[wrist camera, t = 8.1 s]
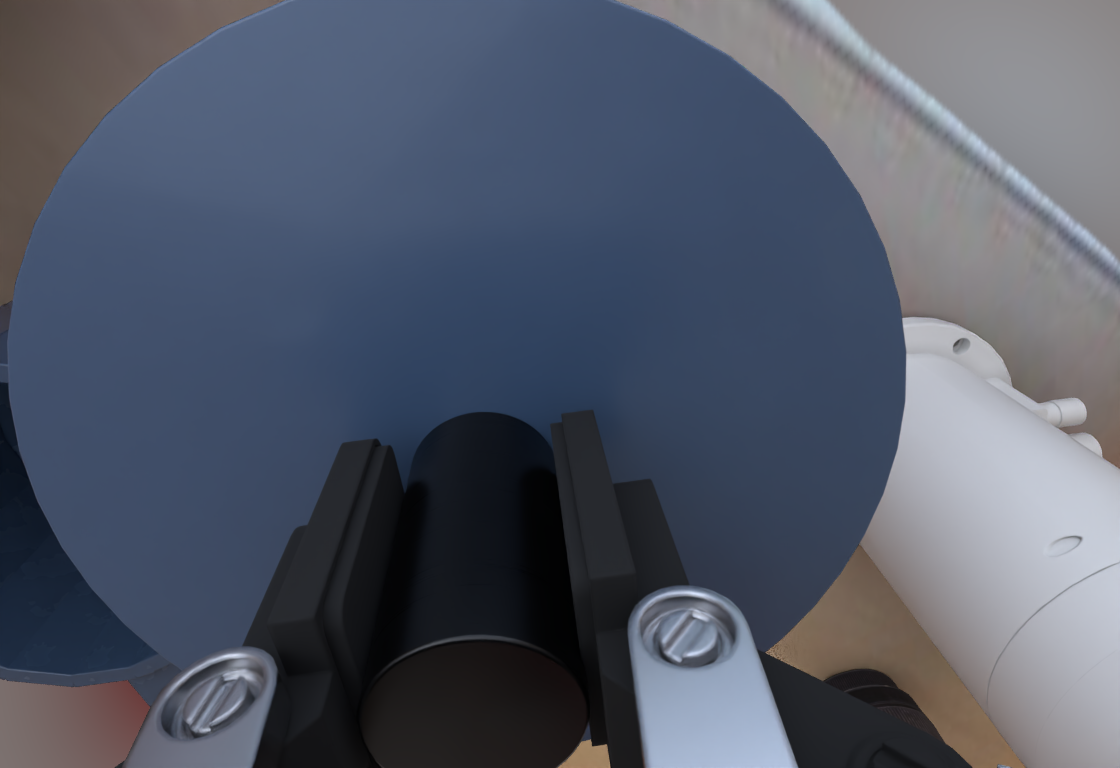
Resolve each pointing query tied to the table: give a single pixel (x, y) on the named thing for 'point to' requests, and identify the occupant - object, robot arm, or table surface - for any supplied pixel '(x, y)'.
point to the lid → (453, 339)
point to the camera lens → (883, 697)
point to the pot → (55, 591)
